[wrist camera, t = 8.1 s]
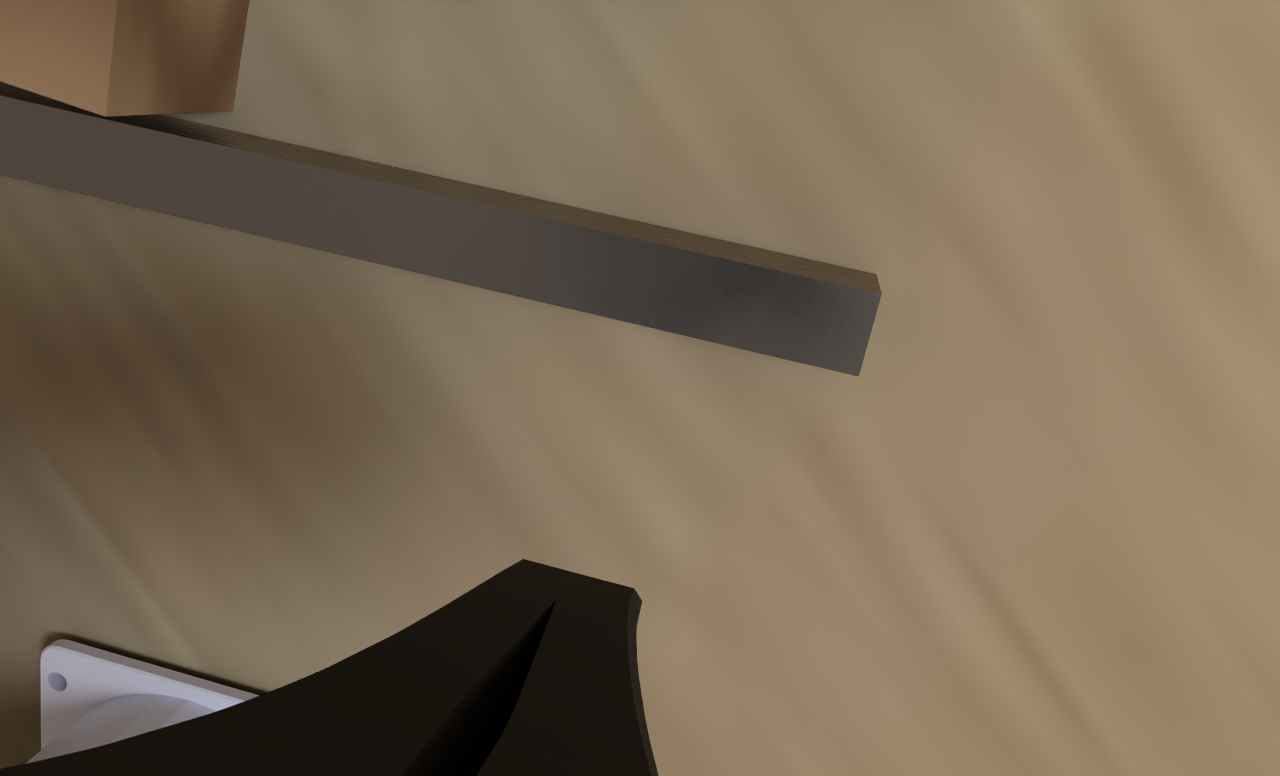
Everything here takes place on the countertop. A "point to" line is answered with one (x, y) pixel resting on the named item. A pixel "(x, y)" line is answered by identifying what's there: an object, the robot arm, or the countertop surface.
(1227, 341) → the countertop surface
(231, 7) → the long wooden beam
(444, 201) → the slot rails
